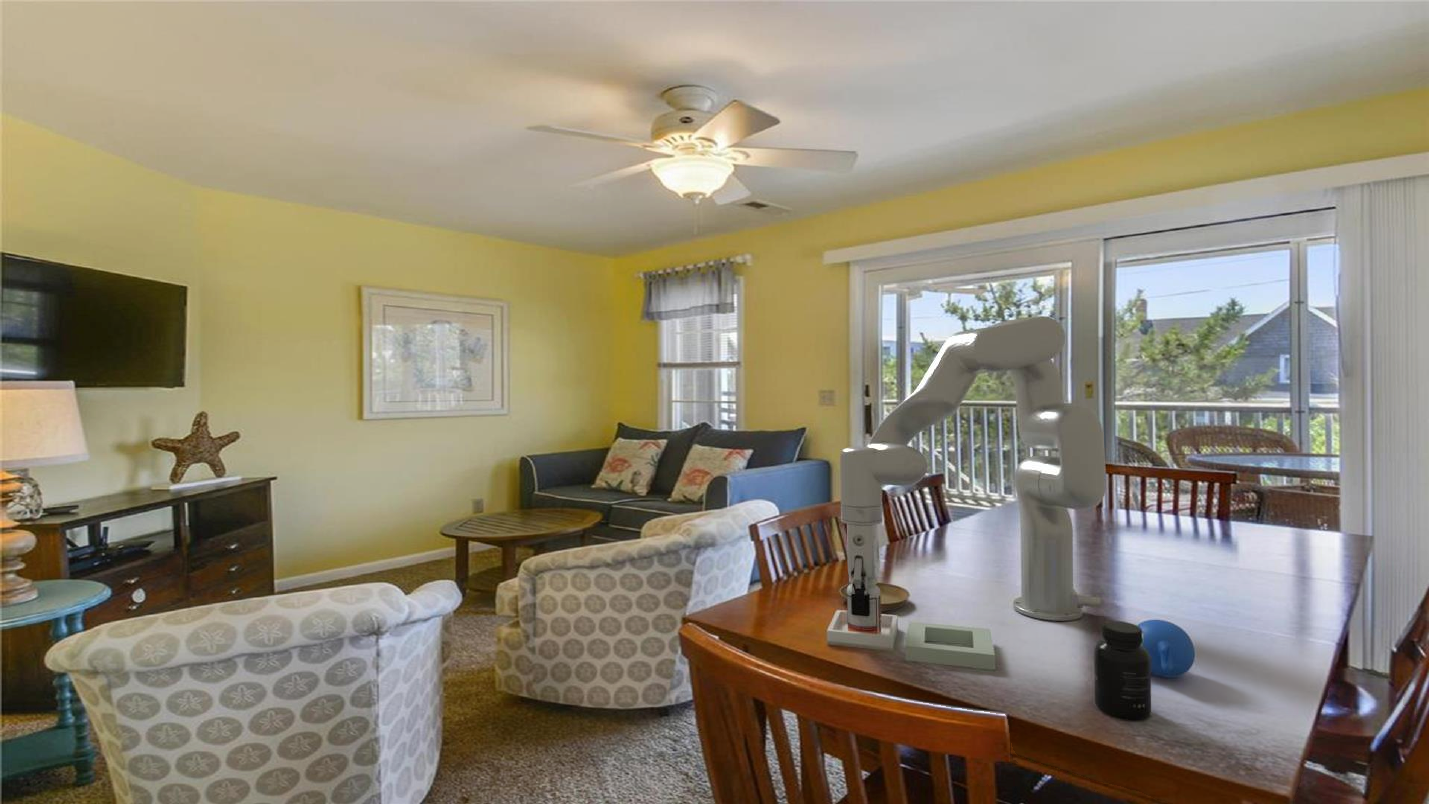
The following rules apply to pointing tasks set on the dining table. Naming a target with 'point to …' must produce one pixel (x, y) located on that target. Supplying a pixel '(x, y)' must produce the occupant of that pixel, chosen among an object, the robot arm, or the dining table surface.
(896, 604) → the plant saucer
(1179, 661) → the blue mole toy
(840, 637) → the tray
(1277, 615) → the dining table surface
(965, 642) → the socket holder
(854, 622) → the pill bottle
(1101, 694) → the supplement bottle
